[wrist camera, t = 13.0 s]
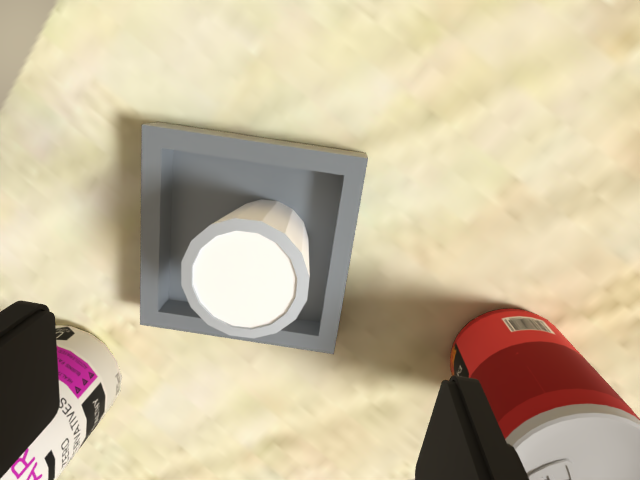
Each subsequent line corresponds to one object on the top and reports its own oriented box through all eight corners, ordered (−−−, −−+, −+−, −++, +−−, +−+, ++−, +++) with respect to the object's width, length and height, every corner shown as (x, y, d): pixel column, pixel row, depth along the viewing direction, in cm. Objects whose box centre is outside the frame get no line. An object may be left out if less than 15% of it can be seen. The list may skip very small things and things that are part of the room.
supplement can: (4, 335, 34) (-246, 511, 19) (97, 308, 32) (-96, 475, 18) (54, 418, 36) (-137, 630, 22) (143, 396, 35) (3, 605, 20)
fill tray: (158, 122, 28) (141, 124, 25) (365, 152, 28) (367, 158, 25) (155, 307, 32) (140, 324, 30) (334, 335, 32) (333, 354, 30)
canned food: (426, 343, 32) (466, 463, 21) (524, 283, 30) (620, 383, 19) (482, 413, 33) (545, 556, 23) (578, 360, 32) (693, 491, 21)
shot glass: (225, 289, 31) (192, 342, 24) (208, 194, 28) (167, 223, 22) (322, 283, 30) (315, 336, 23) (312, 185, 28) (302, 213, 21)
